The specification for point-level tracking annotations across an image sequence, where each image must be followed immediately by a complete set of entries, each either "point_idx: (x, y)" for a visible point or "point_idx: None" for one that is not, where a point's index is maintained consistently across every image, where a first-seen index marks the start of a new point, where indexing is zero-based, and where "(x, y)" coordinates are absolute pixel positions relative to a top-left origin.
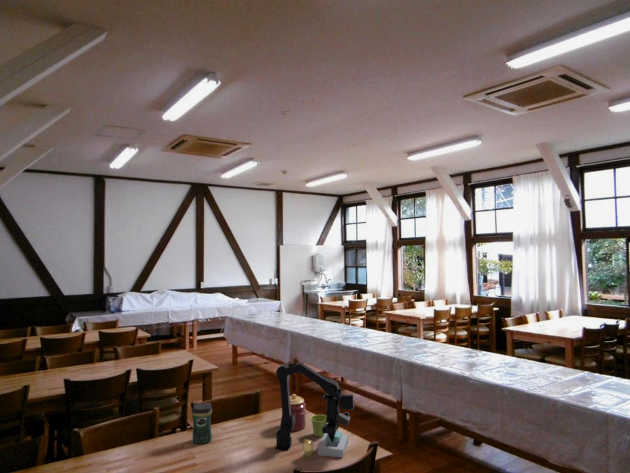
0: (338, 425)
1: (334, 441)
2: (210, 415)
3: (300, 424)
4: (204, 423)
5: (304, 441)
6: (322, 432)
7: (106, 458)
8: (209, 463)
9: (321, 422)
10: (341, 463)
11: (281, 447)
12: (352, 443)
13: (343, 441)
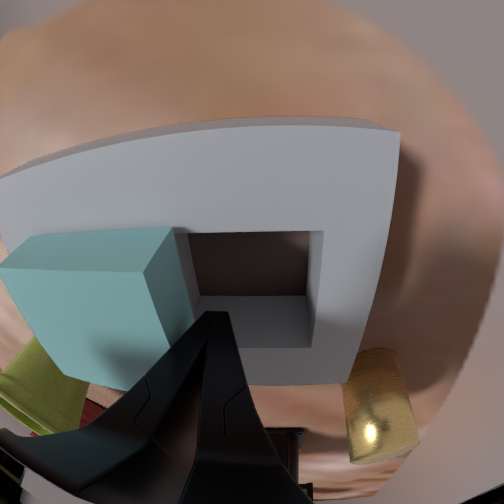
0: (33, 471)
1: (185, 292)
2: None
3: (87, 422)
4: None
5: (380, 460)
6: (468, 501)
7: (356, 494)
8: (386, 467)
9: (49, 422)
10: (466, 130)
11: (298, 445)
12: (32, 121)
13: (107, 182)
